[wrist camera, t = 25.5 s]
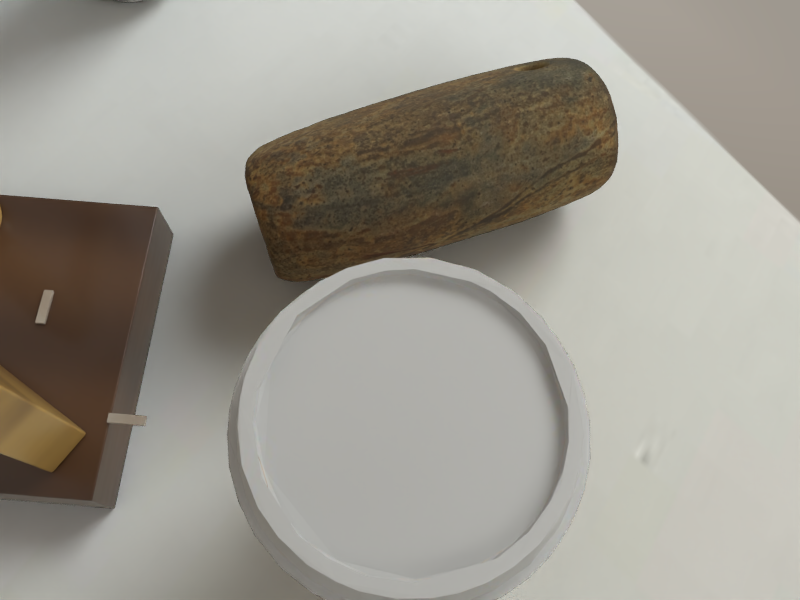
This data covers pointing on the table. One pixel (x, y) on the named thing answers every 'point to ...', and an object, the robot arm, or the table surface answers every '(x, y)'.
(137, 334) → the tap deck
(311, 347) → the disposable coffee cup
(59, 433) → the tap handle
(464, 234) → the brown cylindrical piece
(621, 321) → the table surface
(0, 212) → the tap spout
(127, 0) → the beverage can
